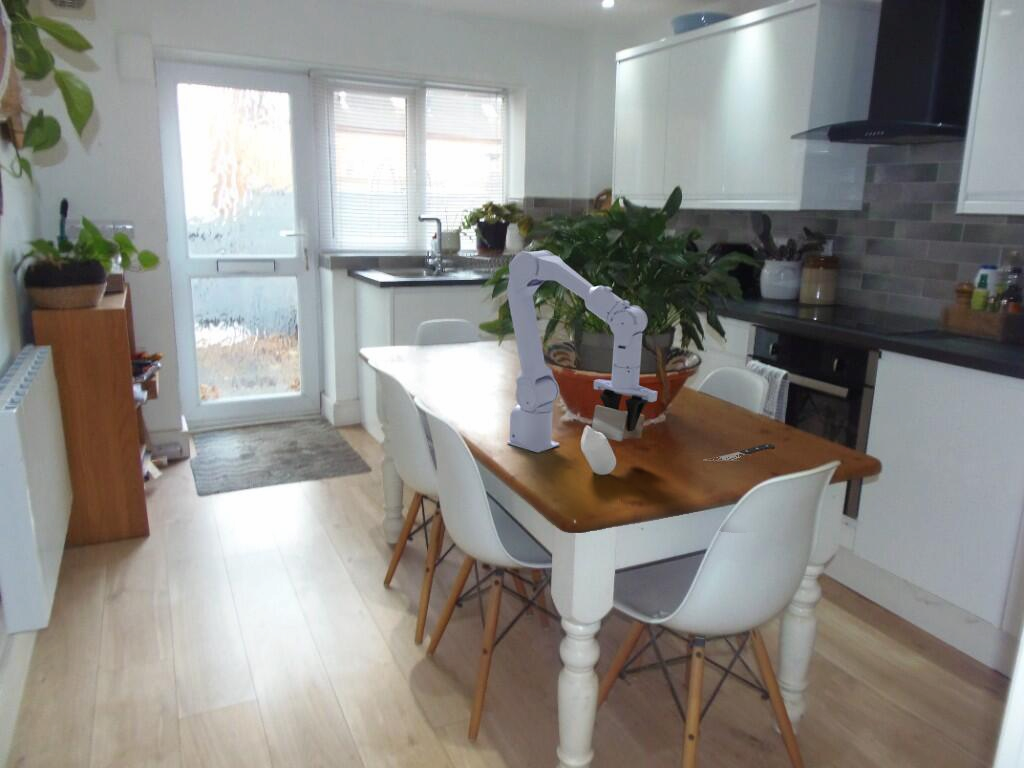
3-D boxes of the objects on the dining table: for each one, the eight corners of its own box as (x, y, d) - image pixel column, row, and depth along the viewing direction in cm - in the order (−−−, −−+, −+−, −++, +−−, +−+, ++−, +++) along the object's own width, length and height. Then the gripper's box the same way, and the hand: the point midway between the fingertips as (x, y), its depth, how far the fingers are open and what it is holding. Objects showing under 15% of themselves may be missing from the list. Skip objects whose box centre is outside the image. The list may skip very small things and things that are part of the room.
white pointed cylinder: (568, 423, 151) (593, 412, 150) (588, 459, 158) (612, 448, 158) (576, 443, 146) (601, 431, 146) (596, 479, 154) (621, 468, 153)
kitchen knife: (801, 456, 170) (765, 444, 178) (801, 454, 170) (765, 442, 178) (714, 481, 154) (678, 465, 162) (714, 478, 154) (678, 463, 162)
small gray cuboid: (619, 432, 165) (624, 405, 164) (647, 439, 160) (651, 412, 160) (590, 433, 156) (595, 405, 156) (618, 441, 152) (623, 412, 151)
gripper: (666, 368, 153) (661, 431, 157) (608, 357, 163) (604, 417, 166) (648, 373, 148) (643, 438, 152) (589, 361, 158) (585, 423, 161)
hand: (622, 427), depth 158 cm, fingers closed on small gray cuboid, 4 cm apart
